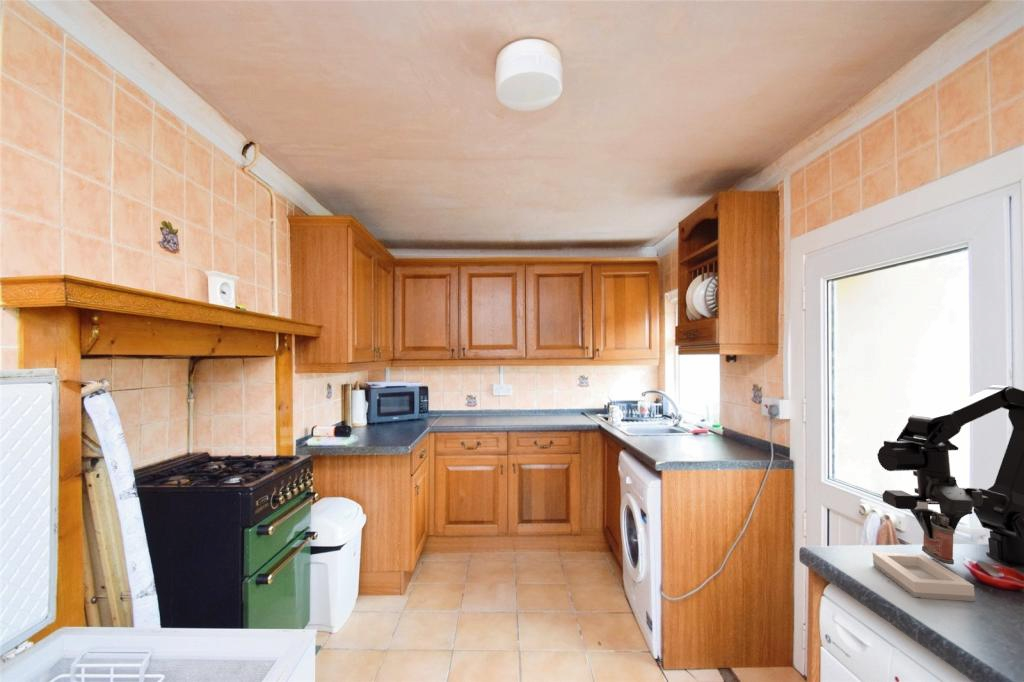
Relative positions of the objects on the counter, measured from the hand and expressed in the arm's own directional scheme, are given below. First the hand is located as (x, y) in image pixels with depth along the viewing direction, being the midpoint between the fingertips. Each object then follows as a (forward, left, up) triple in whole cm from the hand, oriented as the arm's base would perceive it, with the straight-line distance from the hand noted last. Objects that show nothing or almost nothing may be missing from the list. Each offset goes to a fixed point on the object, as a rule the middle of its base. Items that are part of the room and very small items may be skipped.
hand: (938, 538), depth 102 cm
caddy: (+10, +10, -6) cm, 15 cm away
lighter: (+1, 0, -4) cm, 4 cm away
